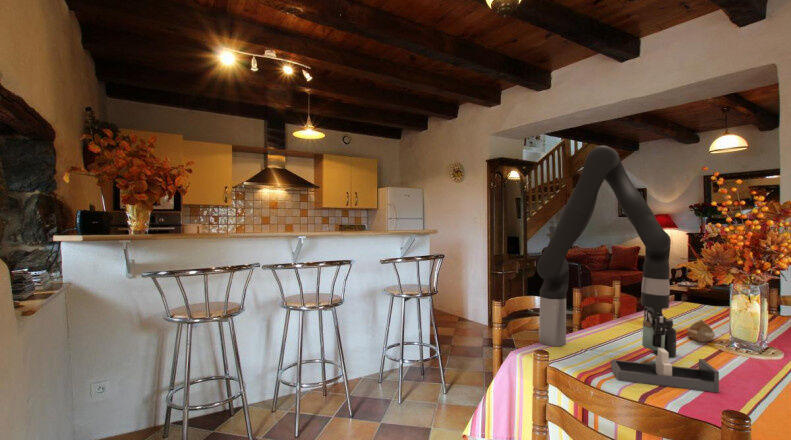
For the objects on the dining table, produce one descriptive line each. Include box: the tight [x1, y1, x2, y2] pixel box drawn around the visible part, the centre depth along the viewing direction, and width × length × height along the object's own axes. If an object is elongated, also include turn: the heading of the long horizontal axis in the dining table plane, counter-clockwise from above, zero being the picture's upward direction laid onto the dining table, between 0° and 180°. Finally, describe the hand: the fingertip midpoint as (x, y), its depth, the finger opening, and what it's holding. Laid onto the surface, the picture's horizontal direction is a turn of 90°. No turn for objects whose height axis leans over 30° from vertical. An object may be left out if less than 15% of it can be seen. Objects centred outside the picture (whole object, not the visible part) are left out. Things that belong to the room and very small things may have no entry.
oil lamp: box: [686, 319, 716, 343], centre depth 151 cm, size 9×21×10 cm, turn 143°
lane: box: [610, 358, 720, 393], centre depth 113 cm, size 24×10×6 cm, turn 71°
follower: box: [655, 348, 673, 376], centre depth 113 cm, size 2×7×8 cm, turn 161°
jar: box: [641, 319, 666, 350], centre depth 125 cm, size 6×6×8 cm
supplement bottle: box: [652, 318, 677, 358], centre depth 134 cm, size 7×7×12 cm
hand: (653, 343), depth 125 cm, fingers closed on jar, 6 cm apart
